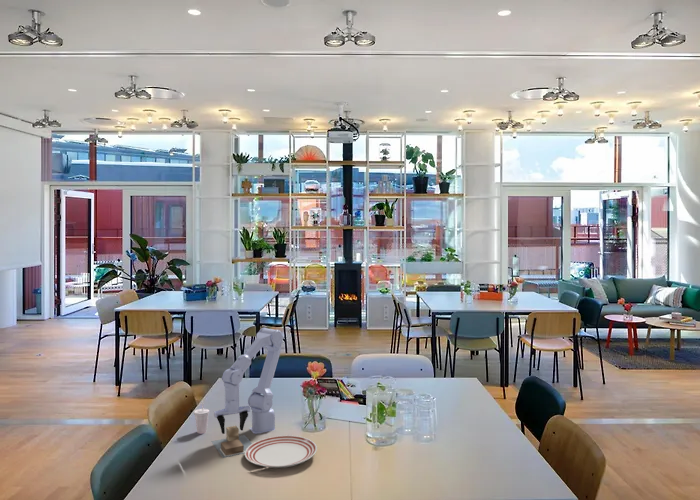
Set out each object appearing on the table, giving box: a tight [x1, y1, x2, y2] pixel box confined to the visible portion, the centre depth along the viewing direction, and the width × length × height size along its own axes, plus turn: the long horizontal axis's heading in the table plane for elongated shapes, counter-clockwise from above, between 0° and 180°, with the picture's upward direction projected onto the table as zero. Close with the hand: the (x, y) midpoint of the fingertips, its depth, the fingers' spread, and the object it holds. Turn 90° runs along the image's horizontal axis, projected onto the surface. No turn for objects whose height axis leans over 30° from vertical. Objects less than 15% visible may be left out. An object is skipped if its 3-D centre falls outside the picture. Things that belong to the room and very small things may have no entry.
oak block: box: [225, 425, 240, 441], centre depth 218 cm, size 4×4×5 cm
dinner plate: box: [244, 434, 318, 469], centre depth 202 cm, size 28×27×3 cm
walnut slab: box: [221, 440, 244, 455], centre depth 208 cm, size 7×7×2 cm
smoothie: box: [193, 400, 210, 435], centre depth 227 cm, size 6×6×14 cm
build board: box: [211, 434, 253, 459], centre depth 212 cm, size 14×18×1 cm
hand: (232, 431), depth 218 cm, fingers open, 7 cm apart
